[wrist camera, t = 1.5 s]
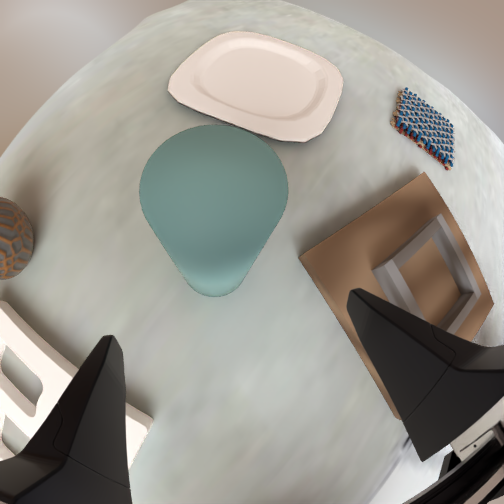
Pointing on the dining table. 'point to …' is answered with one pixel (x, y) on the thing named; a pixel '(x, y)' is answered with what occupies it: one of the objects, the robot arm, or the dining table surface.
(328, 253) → the board
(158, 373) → the dining table surface
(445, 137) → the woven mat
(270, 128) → the plate
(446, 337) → the robot arm
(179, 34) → the dining table surface
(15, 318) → the holder
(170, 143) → the pin
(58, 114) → the dining table surface
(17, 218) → the vase
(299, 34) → the dining table surface
